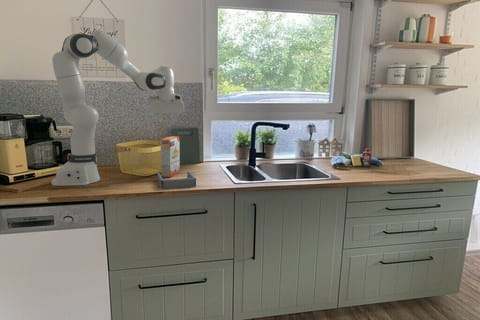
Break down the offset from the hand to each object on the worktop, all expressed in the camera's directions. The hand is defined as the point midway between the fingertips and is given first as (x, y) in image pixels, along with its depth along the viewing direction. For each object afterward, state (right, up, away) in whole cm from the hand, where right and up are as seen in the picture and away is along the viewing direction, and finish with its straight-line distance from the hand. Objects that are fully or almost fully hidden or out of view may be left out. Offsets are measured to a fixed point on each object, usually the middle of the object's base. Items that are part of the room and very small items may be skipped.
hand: (166, 120), depth 198 cm
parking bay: (+9, -35, -21) cm, 42 cm away
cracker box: (+3, -31, -5) cm, 32 cm away
